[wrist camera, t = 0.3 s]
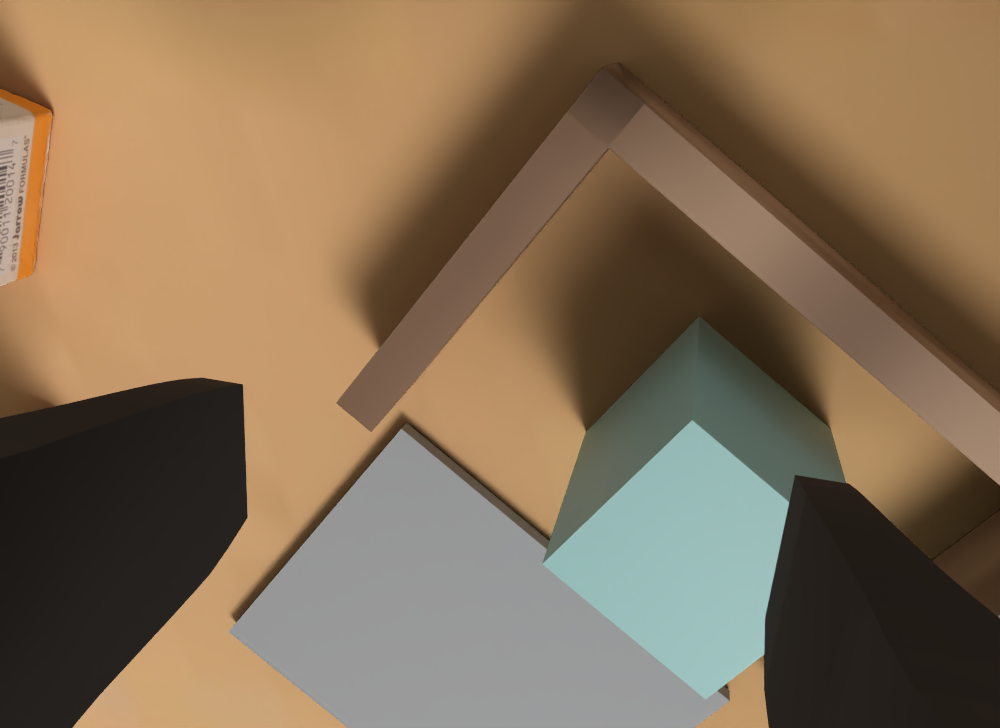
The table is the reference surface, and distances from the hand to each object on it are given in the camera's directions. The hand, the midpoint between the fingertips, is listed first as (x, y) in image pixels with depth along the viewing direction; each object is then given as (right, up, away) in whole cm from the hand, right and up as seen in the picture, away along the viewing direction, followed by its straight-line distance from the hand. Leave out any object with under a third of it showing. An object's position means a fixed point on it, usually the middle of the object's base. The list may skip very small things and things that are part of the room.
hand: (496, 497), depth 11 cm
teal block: (+5, 0, +10) cm, 11 cm away
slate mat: (-1, -6, +14) cm, 15 cm away
